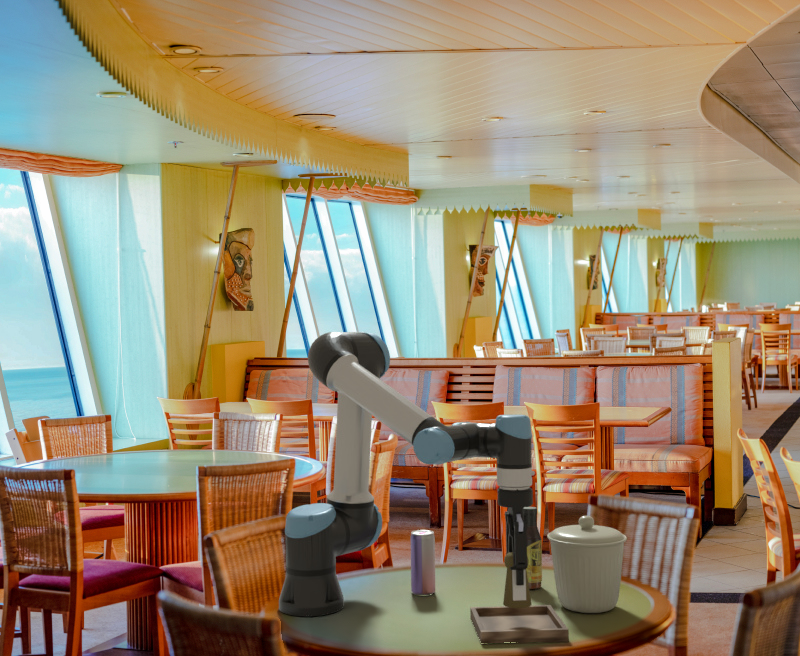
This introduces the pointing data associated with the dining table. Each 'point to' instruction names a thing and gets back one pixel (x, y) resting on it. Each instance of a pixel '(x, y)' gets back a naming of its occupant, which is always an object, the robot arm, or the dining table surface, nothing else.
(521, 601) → the brown tapered upright piece
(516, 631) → the tray
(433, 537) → the beverage can
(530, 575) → the sauce bottle
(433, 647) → the dining table surface
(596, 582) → the canister
